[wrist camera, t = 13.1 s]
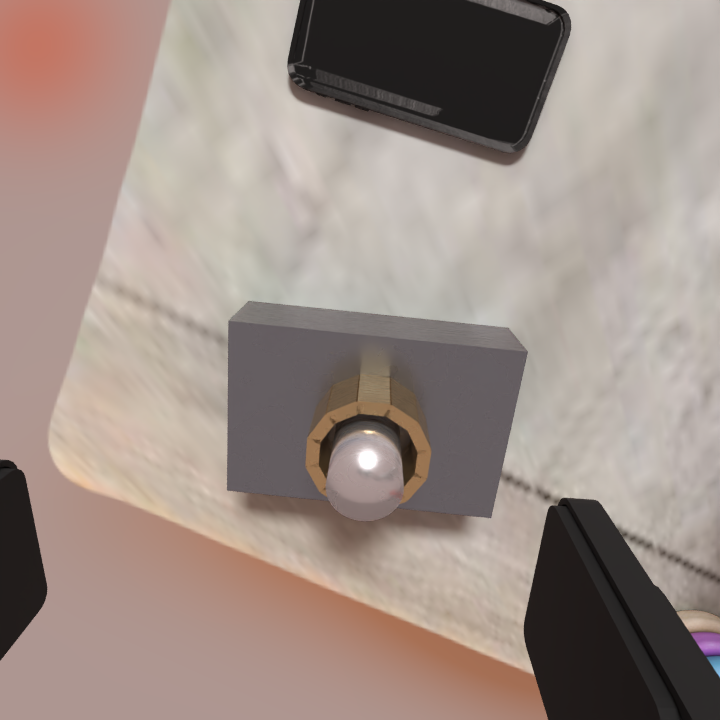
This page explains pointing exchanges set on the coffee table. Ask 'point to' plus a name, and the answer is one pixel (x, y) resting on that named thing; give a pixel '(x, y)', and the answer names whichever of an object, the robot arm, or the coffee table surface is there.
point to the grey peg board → (369, 432)
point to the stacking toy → (704, 633)
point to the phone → (435, 61)
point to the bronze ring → (371, 400)
